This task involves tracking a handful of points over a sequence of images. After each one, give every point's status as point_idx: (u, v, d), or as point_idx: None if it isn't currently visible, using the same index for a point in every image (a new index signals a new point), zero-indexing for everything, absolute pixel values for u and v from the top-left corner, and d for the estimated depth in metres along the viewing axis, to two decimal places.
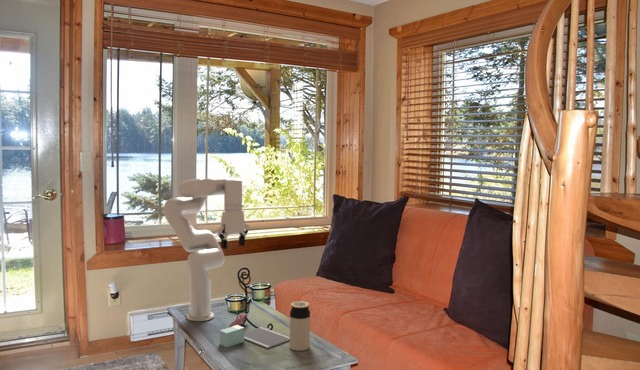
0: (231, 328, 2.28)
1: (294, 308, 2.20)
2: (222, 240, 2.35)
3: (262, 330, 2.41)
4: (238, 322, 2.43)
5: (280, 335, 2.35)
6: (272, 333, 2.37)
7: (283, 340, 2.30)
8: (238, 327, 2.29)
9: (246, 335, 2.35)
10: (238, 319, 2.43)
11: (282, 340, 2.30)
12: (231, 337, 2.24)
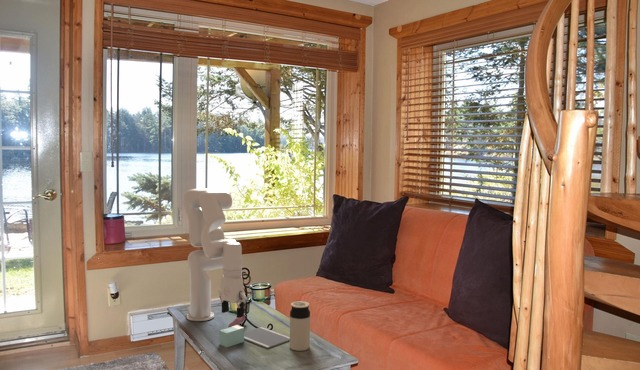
0: (231, 328, 2.28)
1: (294, 308, 2.20)
2: (242, 308, 2.22)
3: (262, 330, 2.41)
4: (237, 322, 2.43)
5: (280, 335, 2.35)
6: (272, 333, 2.37)
7: (283, 340, 2.30)
8: (238, 327, 2.29)
9: (246, 335, 2.35)
10: (237, 319, 2.43)
11: (282, 340, 2.30)
12: (231, 337, 2.24)
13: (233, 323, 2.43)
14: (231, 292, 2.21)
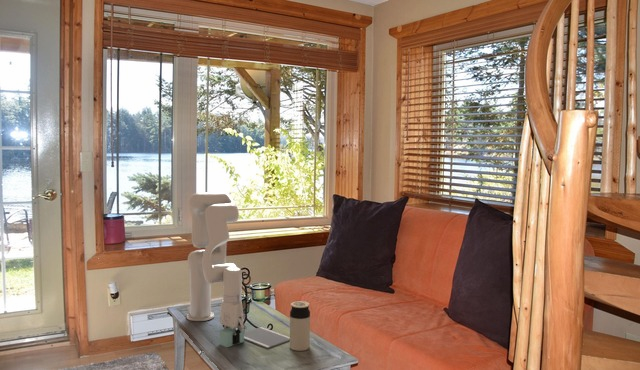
0: (231, 328, 2.28)
1: (294, 308, 2.20)
2: (237, 335, 2.25)
3: (262, 330, 2.41)
4: None
5: (280, 335, 2.35)
6: (272, 333, 2.37)
7: (283, 340, 2.30)
8: None
9: (246, 335, 2.35)
10: None
11: (282, 340, 2.30)
12: (231, 337, 2.24)
13: None
14: (231, 318, 2.23)
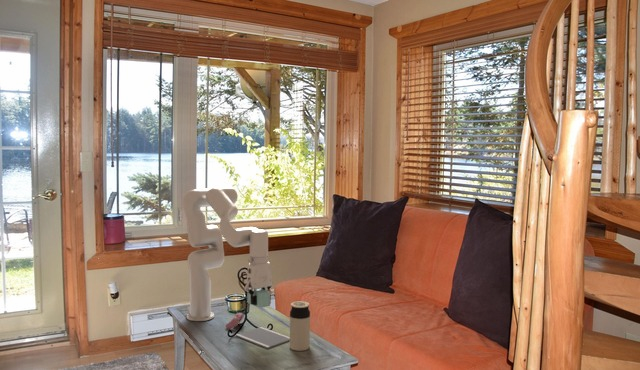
0: None
1: (294, 308, 2.20)
2: None
3: (262, 330, 2.41)
4: (235, 322, 2.43)
5: (280, 335, 2.35)
6: (272, 333, 2.37)
7: (283, 340, 2.30)
8: None
9: (246, 335, 2.35)
10: (235, 319, 2.43)
11: (282, 340, 2.30)
12: None
13: (231, 323, 2.43)
14: (268, 276, 2.30)
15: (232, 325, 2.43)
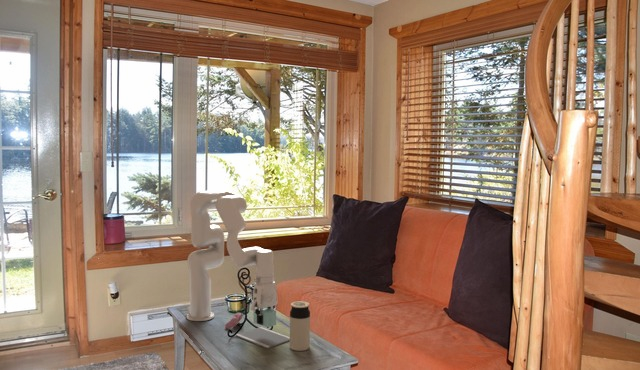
0: (263, 309, 2.32)
1: (294, 308, 2.20)
2: None
3: (262, 330, 2.41)
4: (234, 322, 2.43)
5: (280, 335, 2.35)
6: (272, 333, 2.37)
7: (283, 340, 2.30)
8: None
9: (246, 335, 2.35)
10: (234, 319, 2.43)
11: (282, 340, 2.30)
12: None
13: (230, 323, 2.43)
14: (274, 296, 2.32)
15: (231, 325, 2.43)
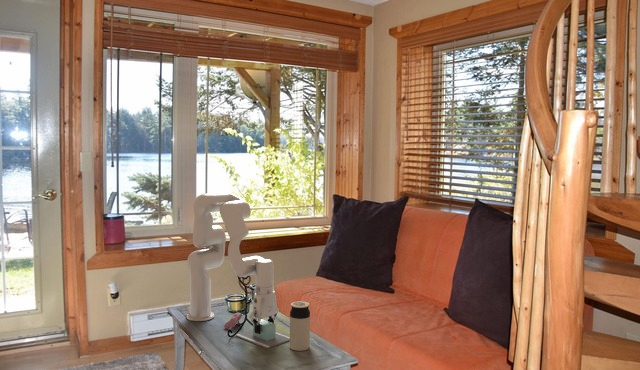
0: (262, 323, 2.33)
1: (294, 308, 2.20)
2: None
3: None
4: (233, 322, 2.43)
5: (280, 335, 2.35)
6: None
7: (283, 340, 2.30)
8: None
9: (246, 335, 2.35)
10: (233, 319, 2.44)
11: (282, 340, 2.30)
12: None
13: (229, 323, 2.43)
14: (273, 305, 2.33)
15: (230, 325, 2.43)
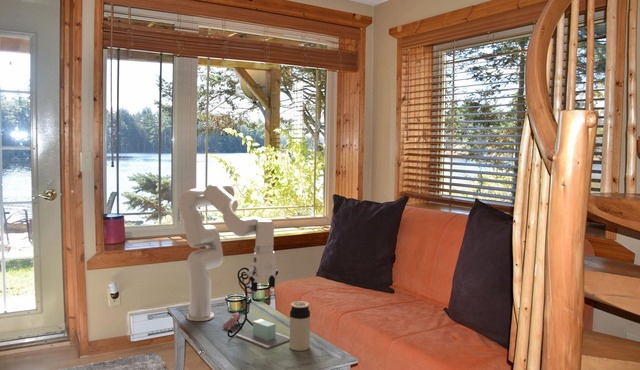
0: (262, 323, 2.33)
1: (294, 308, 2.20)
2: None
3: None
4: (232, 322, 2.43)
5: (280, 335, 2.35)
6: None
7: (283, 340, 2.30)
8: (260, 320, 2.35)
9: (246, 335, 2.35)
10: (232, 319, 2.44)
11: (282, 340, 2.30)
12: None
13: (228, 323, 2.43)
14: (273, 265, 2.35)
15: (229, 325, 2.43)
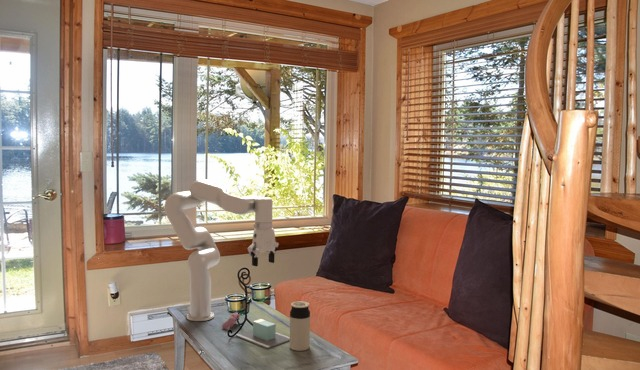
0: (262, 323, 2.33)
1: (294, 308, 2.20)
2: None
3: None
4: (231, 322, 2.43)
5: (280, 335, 2.35)
6: None
7: (283, 340, 2.30)
8: (260, 320, 2.35)
9: (246, 335, 2.35)
10: (231, 319, 2.44)
11: (282, 340, 2.30)
12: None
13: (227, 323, 2.43)
14: (272, 241, 2.45)
15: (228, 325, 2.43)
